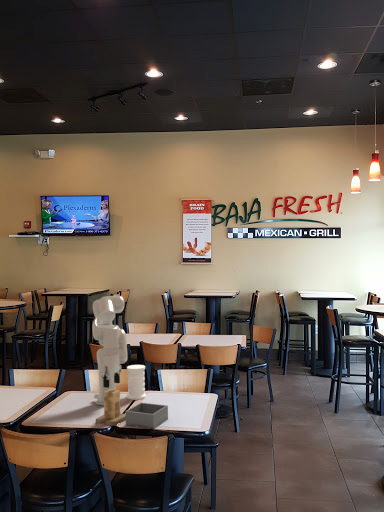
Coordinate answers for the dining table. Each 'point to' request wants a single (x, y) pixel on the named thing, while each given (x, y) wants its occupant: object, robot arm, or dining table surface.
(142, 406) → the charcoal bin
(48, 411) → the dining table surface
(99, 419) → the stud block
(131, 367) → the decorative container
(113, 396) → the oak strut
